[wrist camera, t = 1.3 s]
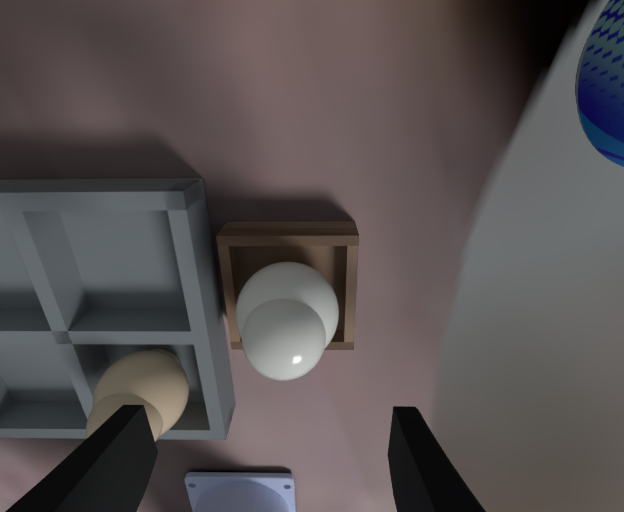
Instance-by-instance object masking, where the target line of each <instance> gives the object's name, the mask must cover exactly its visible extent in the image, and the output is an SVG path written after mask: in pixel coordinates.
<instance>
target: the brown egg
mask: <svg viewBox="0 0 624 512" xmlns="http://www.w3.org/2000/svg"><path fill="white" fill-rule="evenodd" d="M188 396H189V382H188V378H187V375H186V372H185V370H184V368H183V367H182V365H181V362H180V360H179V358H178V357H177V356H176V355H175V354H174V353H172V352H170V351H168V350H166V349H161V348H153V349H149V350H141V351H136V352H133V353H130V354H128V355H125V356H123V357H122V358H120V359H118V360H117V361H115V362H114V363H113V364H112V365H111V366H110V367H109V368H108V369H107V370H106V371H105V372H104V373H103V375H102V376H101V378H100V379H99V381H98V383H97V385H96V388H95V391H94V395H93V404H92V405H93V409H92V411H91V413H90V415H89V417H88V421H87V424H86V438H88V437H89V436H90V435H91V434H92V433H93V432H94V431H95V430H97V429H98V428H99V427H100V426H101V425H102V424H103V423H104V422H105V421H106V420H107V419H108V418H109V417H110V416H111V415H113V414H114V413H115V412H116V411H117V410H118V409H119V408H120V407H121V406H122V405H144V407H145V410H146V414H147V417H148V420H149V424H150V427H151V430H152V434H153V437H154V440H155V442H156V440H157V439H158V437H159V436H160V435H162V434H164V433H165V432H166V431H168V430H169V429H170V428H171V427H172V426H173V425H174V424H175V423H176V422H177V421H178V419H179V418H180V416H181V415H182V413H183V411H184V409H185V407H186V404H187V401H188Z"/></svg>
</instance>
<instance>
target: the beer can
mask: <svg viewBox="0 0 624 512" xmlns="http://www.w3.org/2000/svg"><path fill="white" fill-rule="evenodd" d="M575 94H576V102H577V108H578V114H579V118H580V122H581V125H582V128H583V130H584V132H585V134H586V136H587V138H588V139H589V141H590V142H591V144H592V145H593V146H594V147H595V149H596V150H597V151H598V152H599V153H601V154H602V155H603V156H604V157H606V158H607V159H609V160H611V161H612V162H614V163H616V164H618V165H621V166H623V167H624V0H609V1H608V3H607V4H606V6H605V8H604V9H603V11H602V12H601V14H600V16H599V18H598V20H597V22H596V23H595V25H594V27H593V29H592V31H591V33H590V35H589V37H588V39H587V41H586V44H585V46H584V48H583V51H582V54H581V57H580V60H579V64H578V69H577V74H576V84H575Z"/></svg>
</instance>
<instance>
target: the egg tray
mask: <svg viewBox="0 0 624 512" xmlns="http://www.w3.org/2000/svg"><path fill="white" fill-rule="evenodd" d="M153 348H161V349H166V350H168V351H170V352H172V353H174V354H175V355H176V356H177V357H178V358H179V360H180V362H181V365H182V367H183V368H184V370H185V372H186V375H187V378H188V382H189V396H188V401H187V404H186V407H185V409H184V411H183V413H182V415H181V416H180V418H179V419H178V421H177V422H176V423H175V424H174V425H173V426H172V427H171V428H170V429H169V430H168V431H166V432H165V433H164V434H162V435H160V436H159V437H158V439H174V440H226V438H227V434H228V430H229V427H230V423H231V419H232V416H233V412H234V408H235V405H236V403H235V396H234V389H233V382H232V375H231V369H230V362H229V355H228V348H227V341H226V334H225V327H224V320H223V313H222V307H221V300H220V293H219V286H218V279H217V272H216V265H215V258H214V251H213V245H212V238H211V231H210V224H209V217H208V210H207V203H206V196H205V189H204V183H203V178H119V179H4V180H0V438H70V439H87V438H86V424H87V421H88V417H89V415H90V413H91V411H92V409H93V405H92V404H93V395H94V391H95V388H96V385H97V383H98V381H99V379H100V378H101V376H102V375H103V373H104V372H105V371H106V370H107V369H108V368H109V367H110V366H111V365H112V364H113V363H114V362H115V361H117V360H118V359H120V358H122V357H123V356H125V355H128V354H130V353H133V352H136V351H141V350H149V349H153Z"/></svg>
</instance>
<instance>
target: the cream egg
mask: <svg viewBox="0 0 624 512" xmlns="http://www.w3.org/2000/svg"><path fill="white" fill-rule="evenodd" d="M338 318H339V308H338V302H337V298H336V295H335V292H334V290H333V288H332V287H331V285H330V283H329V282H328V281H327V279H326V278H325V277H324V276H323V275H322V274H320V273H319V272H318V271H317V270H315V269H313V268H312V267H310V266H307V265H305V264H301V263H297V262H278V263H274V264H271V265H268V266H266V267H264V268H262V269H261V270H259V271H257V272H256V273H255V274H254V275H253V276H252V277H251V278H250V279H249V280H248V281H247V282H246V284H245V285H244V287H243V288H242V290H241V292H240V295H239V298H238V301H237V305H236V323H237V328H238V331H239V334H240V336H241V338H242V346H243V351H244V354H245V356H246V358H247V360H248V362H249V363H250V364H251V366H252V367H253V368H254V369H255V370H256V371H257V372H259V373H260V374H262V375H263V376H265V377H268V378H270V379H274V380H282V381H284V380H292V379H296V378H298V377H301V376H303V375H305V374H306V373H308V372H309V371H310V370H311V369H312V368H313V367H314V366H315V365H316V364H317V363H318V361H319V360H320V358H321V356H322V354H323V351H324V349H325V348H326V347H327V346H328V344H329V343H330V341H331V340H332V338H333V336H334V334H335V331H336V328H337V324H338Z"/></svg>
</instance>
